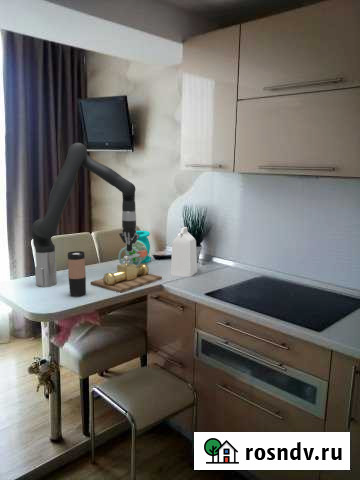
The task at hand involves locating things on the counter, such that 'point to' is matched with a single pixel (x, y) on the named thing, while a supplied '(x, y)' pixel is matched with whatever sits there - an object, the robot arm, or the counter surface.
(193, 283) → the counter surface
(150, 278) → the mounting board
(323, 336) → the counter surface
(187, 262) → the milk
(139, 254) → the valve lever
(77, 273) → the travel mug
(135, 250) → the valve
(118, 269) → the brass valve
